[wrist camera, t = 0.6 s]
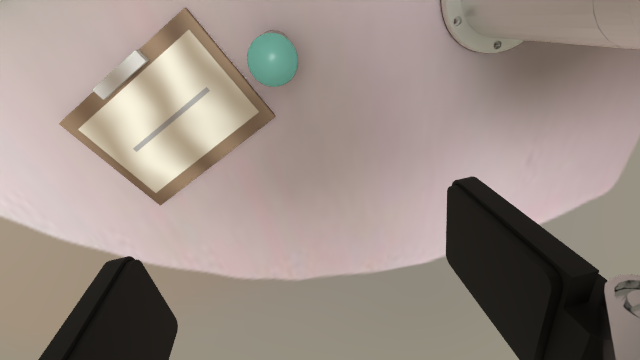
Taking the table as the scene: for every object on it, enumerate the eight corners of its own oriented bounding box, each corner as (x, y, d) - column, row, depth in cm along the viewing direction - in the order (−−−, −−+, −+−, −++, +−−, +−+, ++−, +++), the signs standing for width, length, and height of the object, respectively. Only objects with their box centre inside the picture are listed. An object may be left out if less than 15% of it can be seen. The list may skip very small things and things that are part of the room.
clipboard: (186, 7, 29) (181, 7, 27) (275, 115, 35) (274, 119, 33) (62, 122, 32) (52, 126, 31) (161, 202, 38) (157, 209, 37)
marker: (277, 20, 30) (276, 21, 20) (298, 50, 32) (307, 66, 21) (250, 43, 31) (236, 55, 20) (272, 71, 32) (269, 96, 22)
